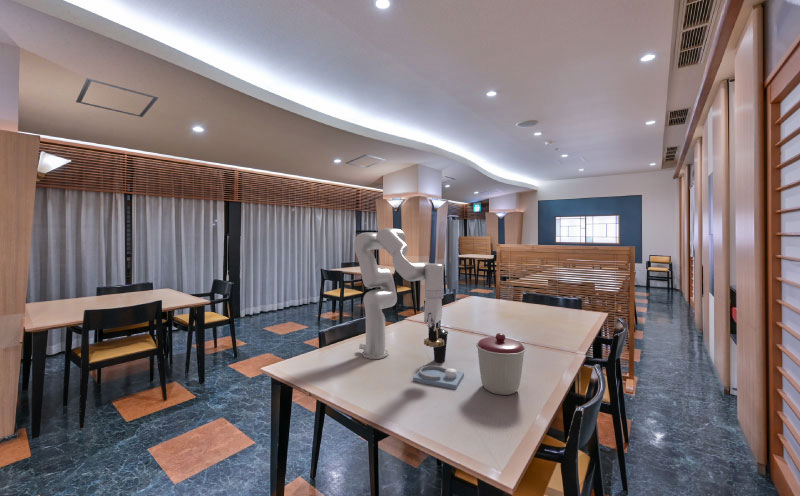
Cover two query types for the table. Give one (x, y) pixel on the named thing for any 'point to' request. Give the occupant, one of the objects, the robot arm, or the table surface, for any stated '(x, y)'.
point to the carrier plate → (439, 376)
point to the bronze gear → (434, 343)
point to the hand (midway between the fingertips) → (434, 338)
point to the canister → (500, 363)
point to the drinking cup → (441, 351)
